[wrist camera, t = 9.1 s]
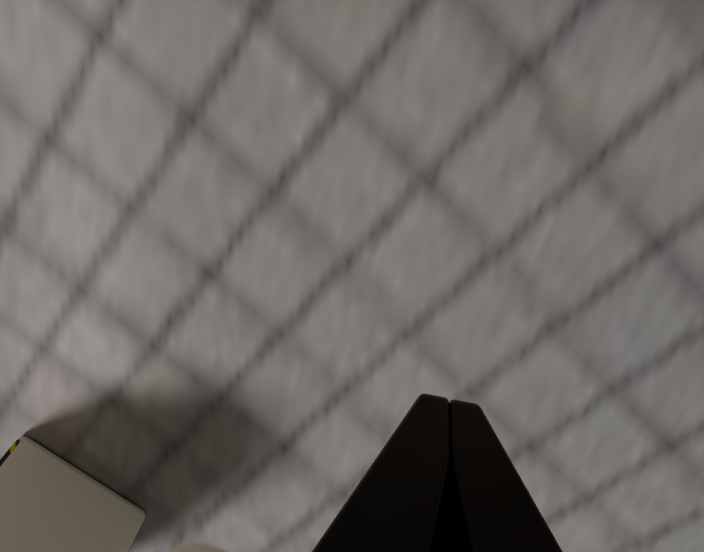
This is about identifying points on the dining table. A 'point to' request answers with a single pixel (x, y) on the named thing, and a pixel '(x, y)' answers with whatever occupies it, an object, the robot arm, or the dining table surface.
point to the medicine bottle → (59, 506)
